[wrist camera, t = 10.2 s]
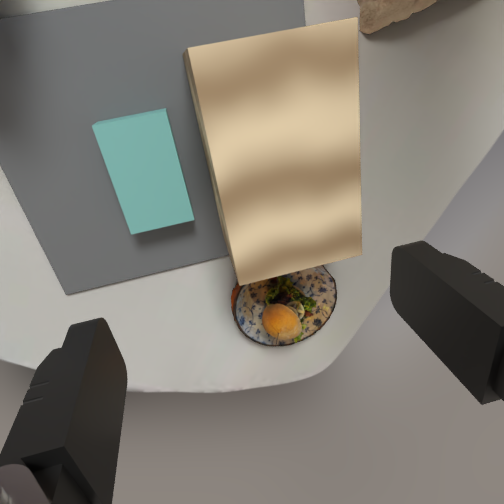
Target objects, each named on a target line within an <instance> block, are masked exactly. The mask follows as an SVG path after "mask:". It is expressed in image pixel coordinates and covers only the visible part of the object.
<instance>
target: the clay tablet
mask: <svg viewBox="0 0 504 504" xmlns="http://www.w3.org/2000/svg"><path fill="white" fill-rule="evenodd" d="M357 1H358V4H359V6H360V30H359V31H361V32H363V33H366V34H371V33H372V32H375V31H378V30H380V29H381V28H383V27H384V26H389V24H390V23H391V22H392V21H394V22H396V23H397V22H399V21H401V20H405V19H408V18H409V17H410V15H411V14H412V12H413V13H416V12H419V11H422V10H423V9H425V8H427V7H429V6H430V5H432V4H434V3H435V2H436V1H437V0H357Z"/></svg>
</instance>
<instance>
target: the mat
mask: <svg viewBox="0 0 504 504" xmlns="http://www.w3.org/2000/svg"><path fill="white" fill-rule="evenodd" d="M305 26H306V25H305V13H304V0H111V1H105V2H99V3H93V4H86V5H80V6H74V7H68V8H62V9H56V10H50V11H44V12H38V13H32V14H26V15H20V16H14V17H8V18H2V19H0V165H1V167H2V169H3V171H4V173H5V175H6V177H7V179H8V181H9V183H10V185H11V187H12V189H13V191H14V193H15V195H16V197H17V199H18V201H19V203H20V205H21V207H22V209H23V211H24V213H25V215H26V217H27V219H28V221H29V223H30V225H31V227H32V229H33V231H34V233H35V235H36V237H37V239H38V241H39V243H40V244H41V246H42V248H43V250H44V252H45V254H46V256H47V258H48V260H49V262H50V264H51V266H52V268H53V270H54V272H55V274H56V276H57V278H58V280H59V282H60V284H61V286H62V288H63V290H64V292H65V294H66V295H67V294H71V293H76V292H80V291H84V290H88V289H92V288H96V287H100V286H104V285H108V284H112V283H116V282H120V281H124V280H129V279H133V278H137V277H141V276H145V275H149V274H153V273H157V272H161V271H165V270H169V269H173V268H178V267H182V266H186V265H190V264H194V263H198V262H202V261H206V260H210V259H214V258H218V257H222V256H227V255H229V252H228V249H227V246H226V243H225V240H224V236H223V232H222V227H221V223H220V219H219V214H218V210H217V205H216V201H215V196H214V192H213V188H212V183H211V179H210V174H209V170H208V165H207V161H206V157H205V152H204V148H203V143H202V139H201V134H200V130H199V126H198V121H197V117H196V112H195V108H194V103H193V99H192V95H191V90H190V86H189V81H188V77H187V72H186V68H185V64H184V59H183V55H182V54H183V53H184V52H185V50H186V49H187V48H190V47H195V46H201V45H206V44H212V43H217V42H223V41H228V40H234V39H239V38H245V37H250V36H256V35H261V34H267V33H272V32H278V31H283V30H289V29H294V28H300V27H305ZM164 108H166V109H167V113H168V117H169V121H170V125H171V128H172V132H173V136H174V140H175V144H176V148H177V151H178V155H179V159H180V163H181V167H182V171H183V174H184V178H185V182H186V186H187V190H188V194H189V197H190V201H191V205H192V209H193V214H194V220H192V221H188V222H184V223H179V224H175V225H171V226H166V227H162V228H158V229H153V230H149V231H145V232H140V233H136V234H132V235H131V233H130V230H129V227H128V224H127V222H126V219H125V216H124V213H123V211H122V208H121V205H120V202H119V200H118V197H117V194H116V191H115V189H114V186H113V183H112V180H111V178H110V175H109V172H108V169H107V167H106V164H105V161H104V158H103V156H102V153H101V150H100V147H99V145H98V142H97V139H96V136H95V133H94V131H93V128H92V125H94V124H95V123H96V122H98V121H103V120H108V119H113V118H118V117H124V116H129V115H134V114H139V113H144V112H149V111H154V110H159V109H164Z"/></svg>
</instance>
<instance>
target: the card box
mask: <svg viewBox="0 0 504 504" xmlns="http://www.w3.org/2000/svg"><path fill="white" fill-rule="evenodd" d="M92 128H93V131H94V133H95V136H96V139H97V142H98V145H99V147H100V150H101V153H102V156H103V158H104V161H105V164H106V167H107V169H108V172H109V175H110V178H111V180H112V183H113V186H114V189H115V191H116V194H117V197H118V200H119V202H120V205H121V208H122V211H123V213H124V216H125V219H126V222H127V224H128V227H129V230H130V233H131V235H132V234H136V233H140V232H145V231H149V230H153V229H158V228H162V227H166V226H171V225H175V224H179V223H184V222H188V221H192V220H194V214H193V209H192V205H191V201H190V197H189V194H188V190H187V186H186V182H185V178H184V174H183V171H182V167H181V163H180V159H179V155H178V151H177V148H176V144H175V140H174V136H173V132H172V128H171V125H170V121H169V117H168V113H167V109H166V108H164V109H159V110H154V111H149V112H144V113H139V114H134V115H129V116H124V117H118V118H113V119H108V120H103V121H98V122H96V123H95V124H94V125H92Z"/></svg>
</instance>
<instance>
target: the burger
mask: <svg viewBox="0 0 504 504" xmlns="http://www.w3.org/2000/svg"><path fill="white" fill-rule="evenodd" d="M336 300H337V290H336V283H335V280H334V278H333V277H332V276H331V275H330V274H329V272H328V271H327V270H326V269H325V268H324V266H323V265H320V266H316V267H312V268H308V269H304V270H300V271H296V272H292V273H288V274H284V275H281V276H277V277H273V278H269V279H265V280H261V281H257V282H253V283H249V284H245V285H241V286H239V283H238V284H237V285H236V287H235V288H234V289H233V292H232V296H231V303H232V307H231V308H232V312H233V315H234V320H235V321H236V322H237V325H238V327H239V329H240V330H241V331H242V332H243V333H244V335H245V336H246V337H248V338H250V339H251V340H252V341H254V342H257V343H259V344H262V345H265V346H287V345H292V344H294V343H297V342H300V341H303V340H306V339H307V338H308V337H311V336H312V335H314V334H315V333H316V332H317V331H318V330H320V329H321V328H322V327H323V326H324V324H325V323H326V322H327V321H328V319H329V318H330V316H331V314H332V312H333V311H334V308H335V305H336Z"/></svg>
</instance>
